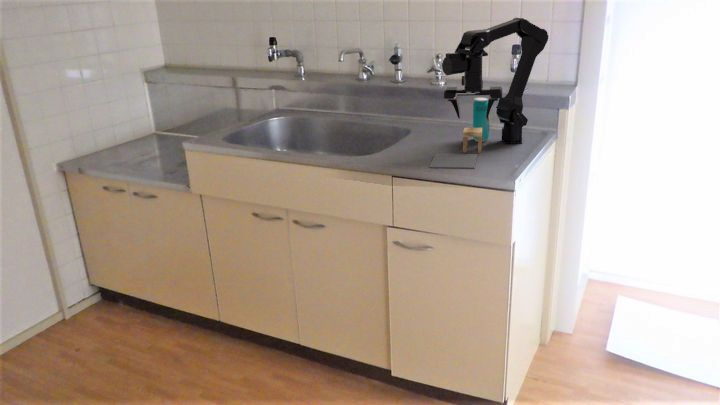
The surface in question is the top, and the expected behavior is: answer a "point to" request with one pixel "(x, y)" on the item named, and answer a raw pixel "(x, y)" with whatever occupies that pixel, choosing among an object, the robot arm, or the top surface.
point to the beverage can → (481, 117)
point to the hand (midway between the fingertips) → (473, 118)
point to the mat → (454, 161)
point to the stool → (472, 133)
